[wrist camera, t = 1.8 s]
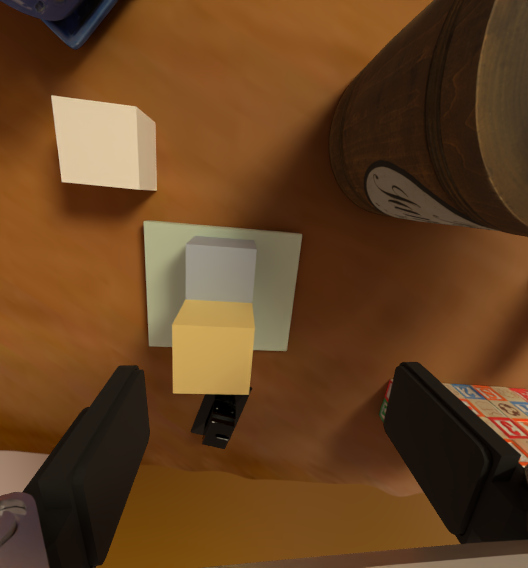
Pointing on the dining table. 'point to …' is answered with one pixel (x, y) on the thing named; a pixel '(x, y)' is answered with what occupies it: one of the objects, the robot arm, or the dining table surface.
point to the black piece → (218, 418)
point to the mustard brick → (213, 347)
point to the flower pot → (67, 16)
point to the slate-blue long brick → (220, 269)
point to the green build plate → (267, 281)
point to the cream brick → (105, 144)
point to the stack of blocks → (492, 411)
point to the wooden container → (442, 120)
